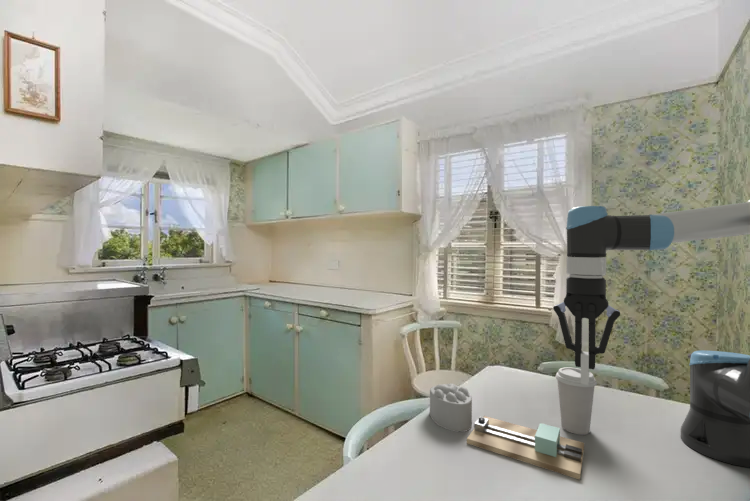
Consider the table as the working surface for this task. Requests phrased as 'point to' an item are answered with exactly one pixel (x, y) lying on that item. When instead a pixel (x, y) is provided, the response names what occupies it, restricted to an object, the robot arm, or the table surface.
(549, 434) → the mint sliding carriage
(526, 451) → the board
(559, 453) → the slide rail
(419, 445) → the table surface
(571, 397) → the coffee cup
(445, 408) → the lumpy-topped squat cylinder
